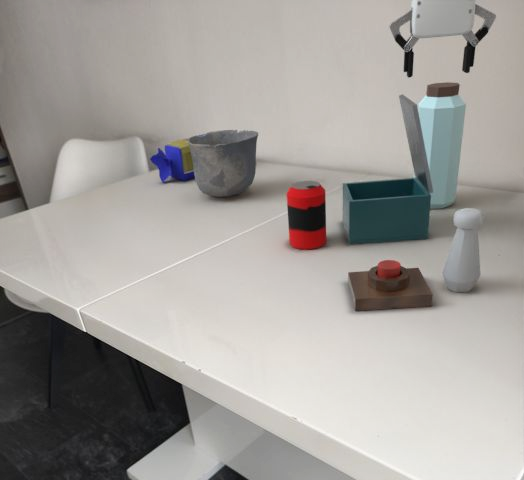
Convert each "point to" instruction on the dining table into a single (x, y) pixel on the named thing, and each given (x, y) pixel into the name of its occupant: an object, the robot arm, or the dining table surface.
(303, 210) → the soda can
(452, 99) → the water bottle
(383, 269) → the button
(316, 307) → the dining table surface
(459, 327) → the dining table surface
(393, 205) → the tin
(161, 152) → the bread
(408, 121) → the lid
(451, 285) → the salt shaker
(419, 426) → the dining table surface
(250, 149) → the cup
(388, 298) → the button block
